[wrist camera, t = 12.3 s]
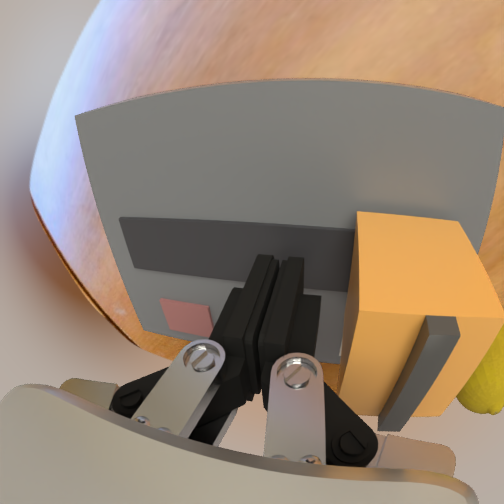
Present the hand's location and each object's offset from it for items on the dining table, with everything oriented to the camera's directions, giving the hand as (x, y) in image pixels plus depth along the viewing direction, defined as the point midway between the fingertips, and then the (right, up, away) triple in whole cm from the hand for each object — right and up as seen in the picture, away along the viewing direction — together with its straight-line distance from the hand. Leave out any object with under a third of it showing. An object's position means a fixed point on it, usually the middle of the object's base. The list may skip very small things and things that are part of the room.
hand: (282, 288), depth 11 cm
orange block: (+5, +1, 0) cm, 5 cm away
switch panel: (+1, +4, +6) cm, 7 cm away
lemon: (+15, -3, +6) cm, 17 cm away
